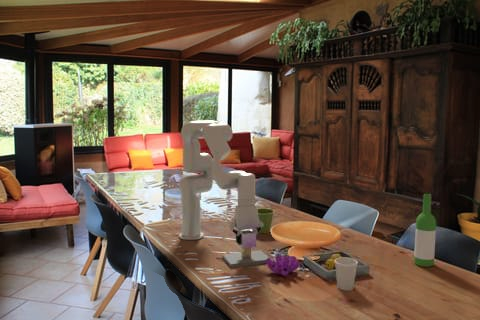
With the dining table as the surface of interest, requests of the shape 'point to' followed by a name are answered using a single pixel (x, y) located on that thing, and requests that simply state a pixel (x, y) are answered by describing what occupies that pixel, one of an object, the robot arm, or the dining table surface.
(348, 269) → the dixie cup
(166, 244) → the dining table surface
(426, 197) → the wine bottle
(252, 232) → the socket
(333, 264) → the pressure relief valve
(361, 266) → the grey square tray
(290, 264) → the purple bumpy lump
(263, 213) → the plant pot
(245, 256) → the board
